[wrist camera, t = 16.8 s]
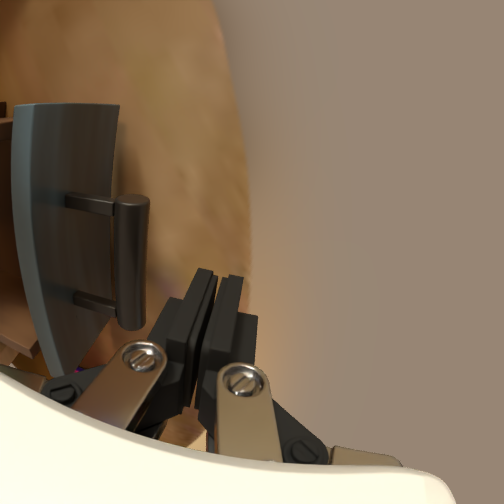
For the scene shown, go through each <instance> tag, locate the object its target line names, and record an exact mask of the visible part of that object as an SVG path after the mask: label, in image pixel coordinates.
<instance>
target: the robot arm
mask: <svg viewBox="0 0 504 504" xmlns="http://www.w3.org/2000/svg"><path fill="white" fill-rule="evenodd" d="M243 279H244V277H240V276H235V275H230V274H229V277H228V278H225V277H222V281H221V284H220V287H219V290H218V294H217V297H216V300H215V294H216V288H217V282H218V276H216V275H213V271H211V270H206V269H201V268H198V270H197V272H196V274H195V276H194V278H193V280H192V282H191V284H190V287H189V289H188V291H187V293H186V295H185V297H184V299H183V300H181V299H177V298H173V297H170V298H169V299H168V301H167V303H166V305H165V306H164V308H163V310H162V312H161V314H160V316H159V318H158V319H157V321H156V323H155V325H154V327H153V329H152V331H151V333H150V334H149V336H148V338H147V340H134V341H130V342H128V343H126V344H124V345H123V346H122V347H121V348H120V349H119V350H118V351H117V352H116V353H115V355H114V356H113V357H112V358H111V359H110V360H109V362H108V363H107V364H105V365H101V366H97V367H94V368H90V369H86V370H83V371H79V372H75V373H71V374H67V375H63V376H59V377H56V378H54V379H51V380H47V379H46V376H42V375H38V374H34V373H31V372H27V371H23V370H20V369H16V368H13V367H10V366H6V365H3V364H0V504H456V502H455V500H454V497H453V495H452V493H451V491H450V489H449V488H448V486H447V485H446V484H445V483H444V481H442V480H441V479H439V478H438V477H436V476H434V475H432V474H430V473H427V472H424V471H420V470H416V469H411V468H406V467H403V466H402V464H401V463H400V461H399V460H397V459H396V458H395V457H392V456H389V455H384V454H377V453H371V452H365V451H360V450H354V449H349V448H344V447H340V446H334V447H333V448H330V447H326V446H325V445H324V444H323V443H322V441H321V440H320V439H318V438H317V437H316V436H315V435H313V434H312V433H311V432H310V431H309V430H308V429H306V428H305V427H304V426H303V425H302V424H300V423H299V422H298V421H297V420H296V419H295V418H294V417H292V416H291V415H290V414H289V413H288V412H286V410H284V409H283V408H282V407H281V406H280V405H279V404H278V403H277V402H276V401H274V400H273V399H272V396H271V390H270V384H269V380H268V378H267V376H266V374H265V373H264V372H263V371H262V370H261V369H259V368H258V367H256V366H254V362H255V349H256V337H257V336H256V335H257V324H258V316H256V315H251V314H246V313H241V312H238V307H239V301H240V295H241V290H242V284H243ZM214 300H215V303H214ZM197 378H198V379H197ZM196 382H197V388H196V397H195V406H194V409H198V410H199V413H198V420H199V422H200V423H201V424H202V425H203V426H204V428H205V429H206V430H207V433H206V452H203V451H198V450H193V449H190V448H185V447H181V446H177V445H173V444H169V443H165V442H162V441H158V440H159V438H160V436H161V434H162V432H163V431H164V429H165V427H166V425H167V421H168V419H169V418H171V417H174V416H176V415H178V414H182V411H183V407H184V406H185V407H190V404H191V400H192V396H193V393H194V389H195V385H196Z"/></svg>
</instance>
